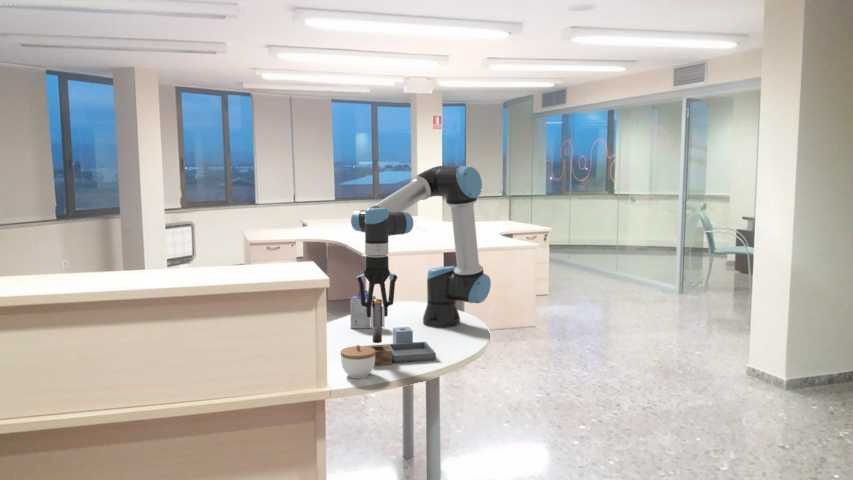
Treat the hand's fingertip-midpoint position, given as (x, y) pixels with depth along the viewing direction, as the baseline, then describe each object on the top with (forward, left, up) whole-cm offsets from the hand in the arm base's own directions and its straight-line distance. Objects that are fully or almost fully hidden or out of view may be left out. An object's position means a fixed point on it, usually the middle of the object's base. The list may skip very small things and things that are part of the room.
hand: (377, 326), depth 213 cm
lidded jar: (+8, +12, -12) cm, 19 cm away
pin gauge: (0, 0, -5) cm, 5 cm away
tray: (-12, -4, -12) cm, 17 cm away
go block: (0, 0, -12) cm, 12 cm away
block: (-12, -17, -12) cm, 24 cm away
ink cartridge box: (-2, -46, -12) cm, 48 cm away
